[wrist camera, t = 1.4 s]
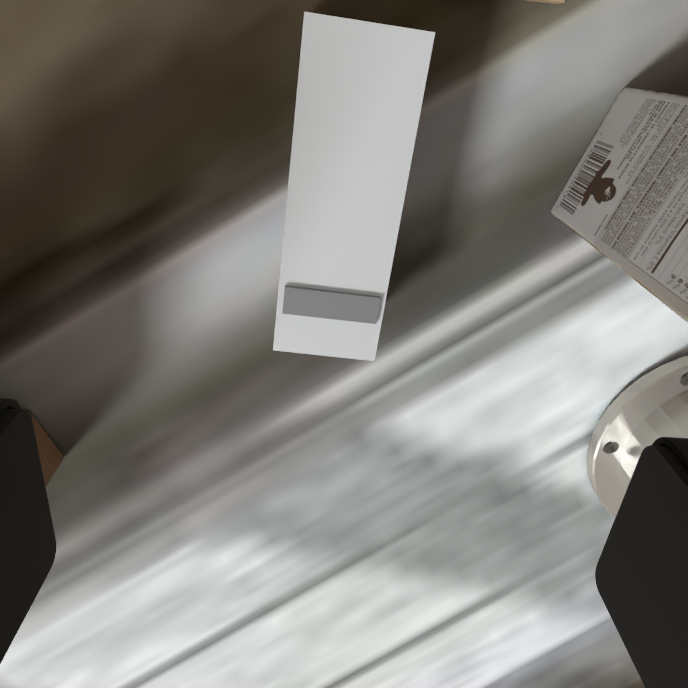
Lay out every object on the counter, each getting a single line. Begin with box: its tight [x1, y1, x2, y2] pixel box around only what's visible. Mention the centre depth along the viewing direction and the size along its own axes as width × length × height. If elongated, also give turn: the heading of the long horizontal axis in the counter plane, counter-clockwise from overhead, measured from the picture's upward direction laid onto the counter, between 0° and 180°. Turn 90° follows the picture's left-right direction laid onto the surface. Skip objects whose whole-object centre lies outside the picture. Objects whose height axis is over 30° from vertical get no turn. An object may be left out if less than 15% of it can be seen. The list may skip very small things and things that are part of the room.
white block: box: [273, 12, 435, 361], centre depth 25 cm, size 4×13×5 cm, turn 172°
